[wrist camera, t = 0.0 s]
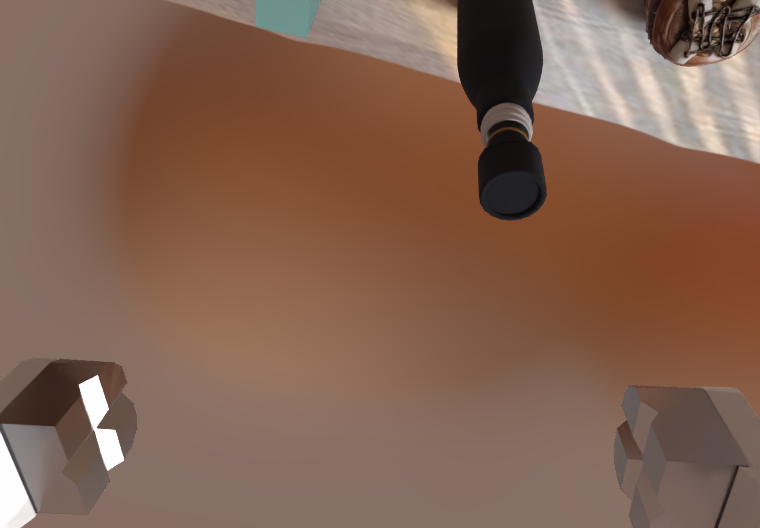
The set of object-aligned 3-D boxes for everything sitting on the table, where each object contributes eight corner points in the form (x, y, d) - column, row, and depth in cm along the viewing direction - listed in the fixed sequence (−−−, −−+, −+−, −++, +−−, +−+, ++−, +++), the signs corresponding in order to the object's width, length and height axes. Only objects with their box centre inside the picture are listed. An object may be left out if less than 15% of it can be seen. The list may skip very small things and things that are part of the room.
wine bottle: (457, -48, 53) (457, 152, 32) (531, -52, 52) (578, 150, 32) (457, 23, 57) (456, 236, 37) (524, 20, 57) (562, 237, 36)
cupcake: (631, 48, 58) (655, 103, 51) (638, -56, 51) (666, -9, 44) (740, 30, 56) (779, 85, 49) (762, -82, 49) (812, -36, 42)
